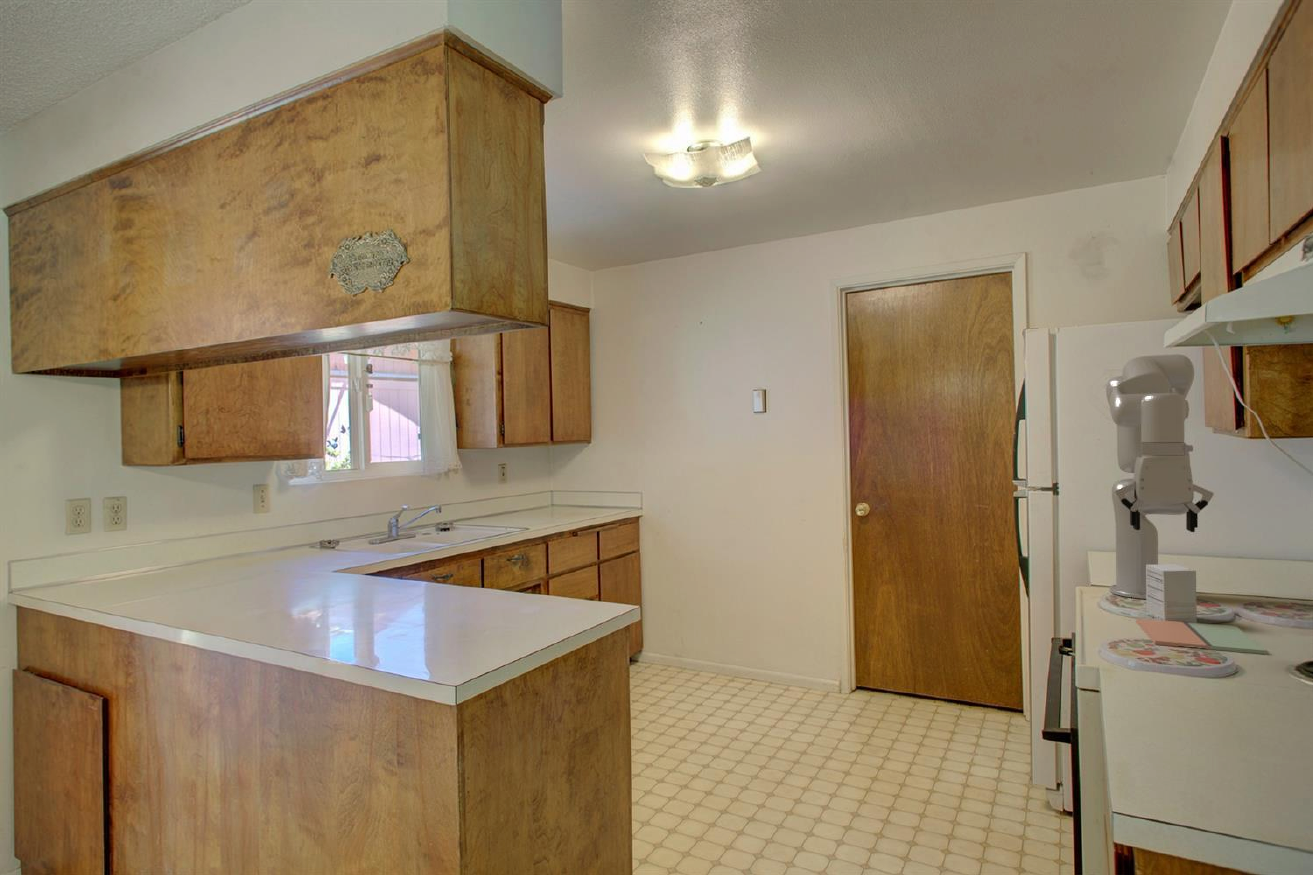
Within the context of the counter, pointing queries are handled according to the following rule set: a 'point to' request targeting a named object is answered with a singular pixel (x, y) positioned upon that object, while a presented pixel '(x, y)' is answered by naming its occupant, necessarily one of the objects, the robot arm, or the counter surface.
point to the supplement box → (1171, 592)
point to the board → (1199, 636)
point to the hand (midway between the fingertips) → (1163, 530)
